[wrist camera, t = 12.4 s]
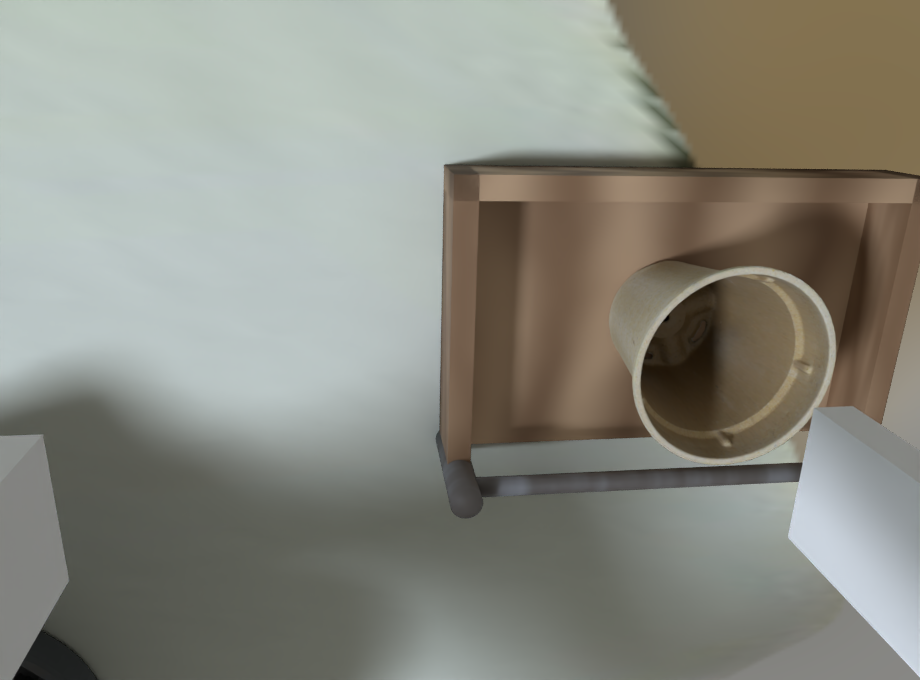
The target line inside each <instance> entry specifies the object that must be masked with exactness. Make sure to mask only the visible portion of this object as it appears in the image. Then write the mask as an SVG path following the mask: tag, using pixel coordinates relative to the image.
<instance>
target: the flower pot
mask: <svg viewBox="0 0 920 680" xmlns="http://www.w3.org/2000/svg"><path fill="white" fill-rule="evenodd" d="M667 316H669V319H668V320H667V321H663V320H664V319H665V318H666V317H667ZM703 321H705V322H706V326H705V330H704V332H703V334H702V336H701V337H700V338H699V339H697V340H696V341H693V338H694V337H695V335H696V333H697V332H698V330H699V328H700V326H701V323H702V322H703ZM609 328H610V334H611V338H612V341H613V344H614V346H615V348H616V349H617V351H618V352H619V354H620V356H621V357H622V359H623V361H624V363H625V365H626V366H627V368H628V370H629V372H630V374H631V375H632V388H633V395H634V401H635V405H636V408H637V411H638V414H639V416H640V418H641V420H642V422H643V424H644V425H645V427H646V429H647V430H648V432H649V433H650V434H651V436H652V437H653V438H654V439H655V440H656V441H657V442H658V443H659V444H660V445H661V446H663V447H664V448H666V449H667V450H668V451H670V452H671V453H674V454H676V455H677V456H680V457H681V458H684V459H686V460H690V461H693V462H697V463H702V464H708V465H729V464H734V463H738V462H743V461H748V460H752V459H754V458H757V457H759V456H762V455H764V454H766V453H769V452H770V451H772V450H774V449H775V448H777V447H778V446H780V445H782V444H784V443H785V442H786V441H788V440H789V439H790V438H791V437H793V436H794V435H795V434H796V433H797V432H798V431H800V429H801V428H802V427H803V426H804V425H805V424H806V423H807V422H808V420H809V419H810V418H811V416H812V415H813V410H814V408H817V407H818V406H819V405H820V403H821V401H822V399H823V397H824V395H825V393H826V391H827V389H828V386H829V384H830V381H831V378H832V375H833V371H834V366H835V361H836V360H835V359H836V336H835V330H834V325H833V322H832V319H831V315H830V313H829V310H828V309H827V307H826V305H825V303H824V302H823V301H822V299H821V298H820V297H819V295H818V294H817V293H816V292H815V291H814V290H813V289H812V288H811V287H810V286H809V285H807V284H806V283H805V282H804V281H802V280H801V279H799V278H797V277H795V276H793V275H791V274H789V273H786V272H784V271H781V270H777V269H774V268H770V267H763V266H739V267H732V268H728V269H724V270H715V269H710V268H705V267H700V266H696V265H692V264H687V263H684V262H679V261H663V262H659V263H656V264H653V265H650V266H648V267H645V268H643V269H641V270H639V271H637V272H635V273H634V274H633V275H631V276H630V277H629V278H628V279H627V280H626V281H625V283H624V284H623V285H622V286H621V287H620V289H619V290H618V292H617V293H616V295H615V297H614V300H613V302H612V305H611V309H610V313H609ZM646 352H647V353H650V354H652V357H651V358H648V357H646V358H644V357H645V353H646Z"/></svg>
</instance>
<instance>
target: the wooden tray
mask: <svg viewBox="0 0 920 680" xmlns="http://www.w3.org/2000/svg"><path fill="white" fill-rule="evenodd" d="M663 261H679V262H684V263H687V264H692V265H696V266H700V267H705V268H710V269H715V270H724V269H728V268H732V267H739V266H763V267H770V268H774V269H777V270H781V271H784V272H786V273H789V274H791V275H793V276H795V277H797V278H799V279H801V280H802V281H804V282H805V283H806V284H807V285H809V286H810V287H811V288H812V289H813V290H814V291H815V292H816V293H817V294H818V295H819V297H820V298H821V299H822V301H823V302H824V303H825V305H826V307H827V309H828V310H829V313H830V315H831V319H832V322H833V325H834V330H835V336H836V359H835V360H836V361H835V366H834V371H833V375H832V378H831V381H830V384H829V386H828V389H827V391H826V393H825V395H824V397H823V399H822V401H821V403H820V405H819V406H818V407H845V406H853V407H855V408H856V409H858V410H859V411H861V412H862V413H864V414H865V415H867V416H868V417H870V418H871V419H873V420H875V421H876V422H878V423H879V424H882V420H883V415H884V411H885V407H886V403H887V398H888V394H889V390H890V386H891V382H892V377H893V373H894V369H895V365H896V360H897V356H898V351H899V348H900V343H901V339H902V335H903V331H904V327H905V322H906V318H907V314H908V310H909V306H910V301H911V297H912V293H913V289H914V285H915V280H916V275H917V272H918V268H919V263H920V176H918V175H912V174H906V173H900V172H894V171H888V170H837V169H833V170H832V169H754V168H669V167H583V166H497V165H444V203H443V260H442V316H441V373H440V430H439V432H438V433H437V435H436V443H437V448H438V452H439V457H440V461H441V466H442V470H443V475H444V479H445V484H446V488H447V493H448V497H449V502H450V506H451V510H452V512H453V513H454V514H455V515H456V516H458V517H460V518H471V517H473V516H475V515H477V514H478V513H479V512H480V511H481V509H482V506H483V499H482V497H496V496H517V495H537V494H557V493H578V492H598V491H618V490H639V489H659V488H679V487H700V486H720V485H740V484H761V483H781V482H799V479H800V474H801V470H802V465H803V463H781V464H759V465H737V466H715V467H693V468H671V469H649V470H627V471H605V472H583V473H561V474H539V475H517V476H495V477H476V476H475V473H474V469H473V466H472V463H471V444H487V443H512V442H538V441H563V440H589V439H614V438H640V437H652V436H651V434H650V433H649V432H648V430H647V429H646V427H645V425H644V424H643V422H642V420H641V418H640V416H639V414H638V411H637V408H636V405H635V401H634V395H633V388H632V375H631V374H630V372H629V370H628V368H627V366H626V365H625V363H624V361H623V359H622V357H621V356H620V354H619V352H618V351H617V349H616V348H615V346H614V344H613V341H612V338H611V334H610V328H609V313H610V309H611V305H612V302H613V300H614V297H615V295H616V293H617V292H618V290H619V289H620V287H621V286H622V285H623V284H624V283H625V281H626V280H627V279H628V278H629V277H630V276H631V275H633V274H634V273H635V272H637V271H639V270H641V269H643V268H645V267H648V266H650V265H653V264H656V263H659V262H663ZM668 319H669V316H667V317H666V318H665V319H664V320H663V321H667V320H668ZM705 326H706V322H705V321H703V322H702V323H701V326H700V328H699V330H698V332H697V333H696V335H695V337H694V338H693V341H696V340H697V339H699V338H700V337H701V336H702V334H703V332H704V330H705ZM646 357H648V358H651V357H652V354H650V353H647V352H646V353H645V357H644V358H646ZM811 420H812V416H811V418H810V419H809V420H808V422H807V423H806V424H805V425H804V426H803V427H802V428H801V429H800V431H809V430H810V425H811Z"/></svg>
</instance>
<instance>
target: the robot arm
mask: <svg viewBox="0 0 920 680" xmlns="http://www.w3.org/2000/svg"><path fill="white" fill-rule="evenodd" d="M788 538H789V539H790V540H791V541H792V542H793V543H794V545H795V546H796V547H797V548H798V549H799V550H800V551H801V552H802V553H803V554H804V555H805V556H806V557H807V558H808V559H809V560H810V561H811V563H812V564H813V565H814V566H815V567H816V568H817V569H818V570H819V571H820V572H821V573H822V574H823V575H824V576H825V577H826V578H827V580H828V581H829V582H830V583H831V584H832V585H833V586H834V587H835V588H836V589H837V590H838V591H839V592H840V593H841V594H842V595H843V596H844V598H845V599H846V600H847V601H848V602H849V603H850V604H851V605H852V606H853V607H854V608H855V609H856V610H857V611H858V612H859V613H860V614H861V615H862V617H863V618H864V619H865V620H866V621H867V622H868V623H869V624H870V625H871V626H872V627H873V628H874V629H875V630H876V631H877V632H878V634H879V635H880V636H881V637H882V638H883V639H884V640H885V641H886V642H887V643H888V644H889V645H890V646H891V647H892V648H893V649H894V650H895V652H896V653H897V654H898V655H899V656H900V657H901V658H902V659H903V660H904V661H905V662H906V663H907V664H908V665H909V666H910V667H911V669H912V670H913V671H914V672H915V673H916V674H917V675H918V676H919V677H920V450H918V449H917V448H916V447H914V446H913V445H911V444H910V443H908V442H906V441H905V440H903V439H902V438H900V437H899V436H897V435H896V434H894V433H893V432H891V431H890V430H888V429H887V428H885V427H884V426H882V425H881V424H879V423H878V422H876V421H875V420H873V419H871V418H870V417H868V416H867V415H865V414H864V413H862V412H861V411H859V410H858V409H856V408H855V407H853V406H845V407H817V408H814V410H813V415H812V420H811V425H810V430H809V435H808V440H807V445H806V450H805V455H804V460H803V465H802V470H801V474H800V479H799V484H798V489H797V494H796V499H795V504H794V509H793V514H792V519H791V524H790V529H789V534H788ZM68 582H69V576H68V571H67V565H66V560H65V554H64V549H63V543H62V537H61V532H60V526H59V521H58V515H57V510H56V504H55V499H54V493H53V487H52V482H51V476H50V471H49V465H48V460H47V454H46V449H45V443H44V438H43V434H41V435H12V436H0V680H97V679H96V678H95V676H94V675H93V673H92V672H91V670H90V669H89V668H88V666H87V665H86V664H85V663H84V662H83V661H82V660H81V659H80V658H79V657H78V656H77V655H76V654H75V653H74V652H73V651H71V650H70V649H69V648H68V647H66V646H65V645H63V644H62V643H61V642H59V641H58V640H56V639H54V638H53V637H51V636H49V635H47V634H45V633H43V632H41V629H42V627H43V625H44V624H45V622H46V620H47V618H48V617H49V615H50V613H51V611H52V610H53V608H54V606H55V604H56V603H57V601H58V599H59V597H60V596H61V594H62V592H63V590H64V589H65V587H66V585H67V583H68Z"/></svg>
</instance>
